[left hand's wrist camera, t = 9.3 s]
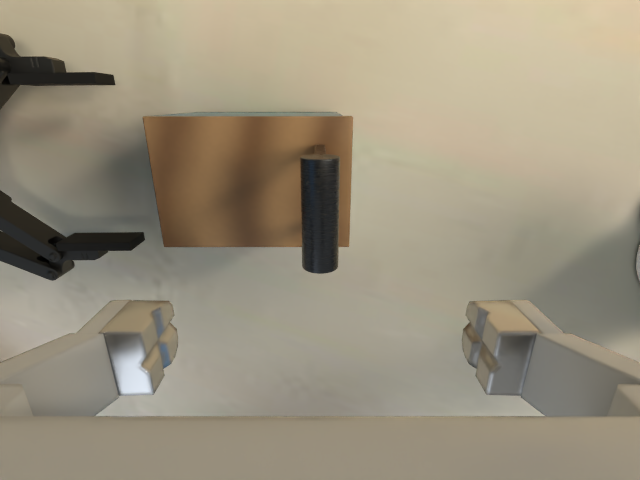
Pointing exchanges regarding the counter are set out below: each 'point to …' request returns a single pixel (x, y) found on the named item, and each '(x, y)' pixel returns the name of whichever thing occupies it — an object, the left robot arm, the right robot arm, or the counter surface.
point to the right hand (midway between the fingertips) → (123, 166)
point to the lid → (254, 182)
